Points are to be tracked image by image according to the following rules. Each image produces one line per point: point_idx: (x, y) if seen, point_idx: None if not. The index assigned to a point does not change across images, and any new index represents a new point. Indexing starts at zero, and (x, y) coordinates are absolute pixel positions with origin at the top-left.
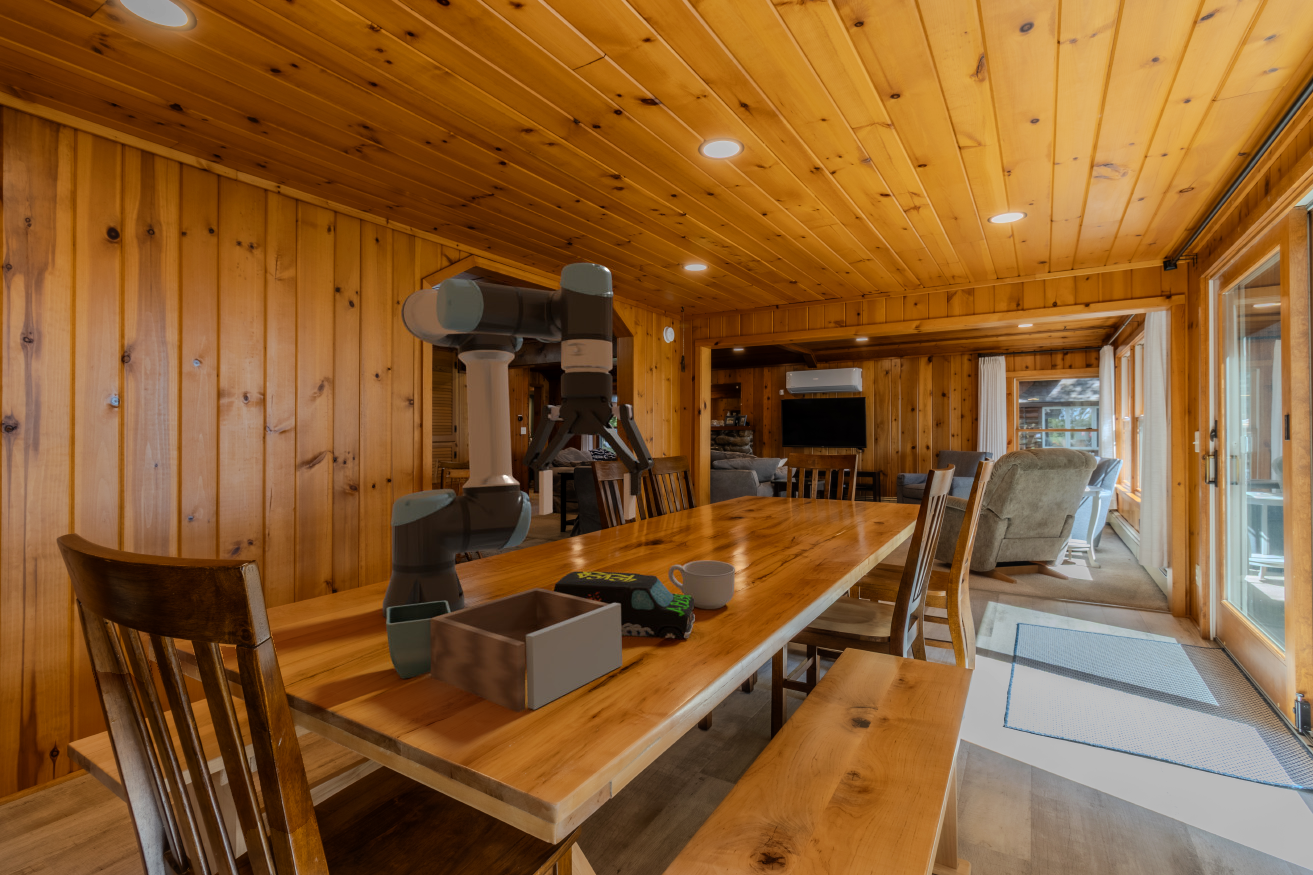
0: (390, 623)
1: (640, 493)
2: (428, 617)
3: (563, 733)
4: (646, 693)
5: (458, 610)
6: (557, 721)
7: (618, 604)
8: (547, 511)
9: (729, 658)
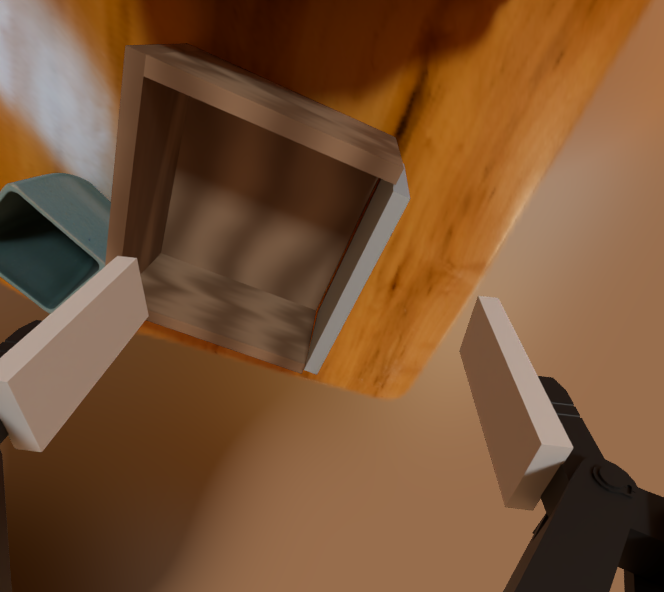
0: (52, 310)
1: (556, 384)
2: (19, 199)
3: (371, 323)
4: (451, 215)
5: (107, 262)
6: (355, 303)
7: (406, 204)
8: (140, 299)
9: (621, 14)
